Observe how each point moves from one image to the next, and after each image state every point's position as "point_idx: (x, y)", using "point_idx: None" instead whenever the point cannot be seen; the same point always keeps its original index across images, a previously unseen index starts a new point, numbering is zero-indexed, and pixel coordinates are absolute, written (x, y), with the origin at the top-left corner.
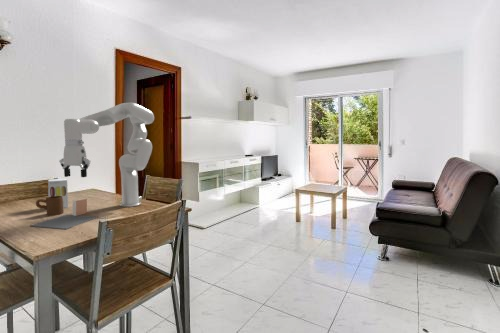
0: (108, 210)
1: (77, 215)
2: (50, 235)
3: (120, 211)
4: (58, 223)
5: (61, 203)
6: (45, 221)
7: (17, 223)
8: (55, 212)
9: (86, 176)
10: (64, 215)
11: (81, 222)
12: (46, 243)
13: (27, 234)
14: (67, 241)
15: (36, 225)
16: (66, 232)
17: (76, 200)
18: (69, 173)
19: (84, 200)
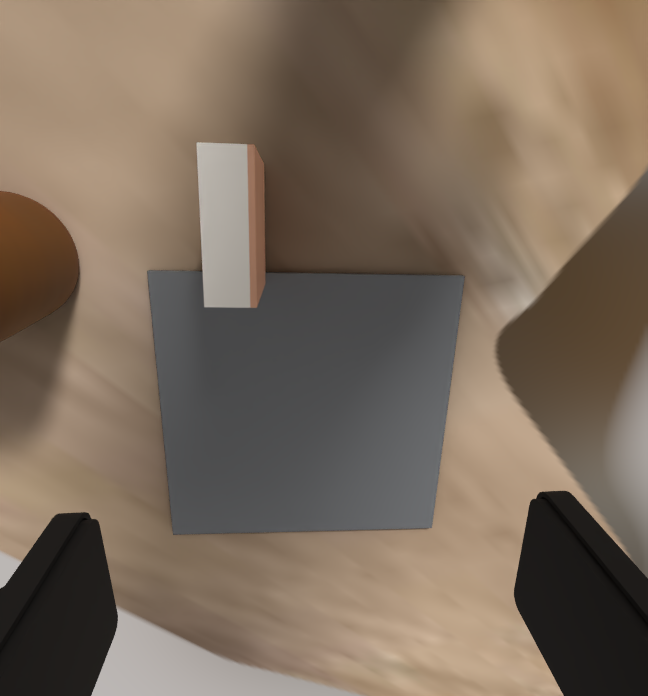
0: (397, 5)
1: (265, 273)
2: (421, 602)
3: (539, 23)
4: (305, 468)
5: (28, 263)
6: (179, 455)
7: (27, 507)
8: (60, 304)
9: (562, 494)
10: (159, 297)
11: (435, 420)
12: (484, 665)
13: (297, 617)
14: None
15: (209, 526)
16: (466, 556)
17: (246, 298)
18: (71, 589)
19: (256, 186)
